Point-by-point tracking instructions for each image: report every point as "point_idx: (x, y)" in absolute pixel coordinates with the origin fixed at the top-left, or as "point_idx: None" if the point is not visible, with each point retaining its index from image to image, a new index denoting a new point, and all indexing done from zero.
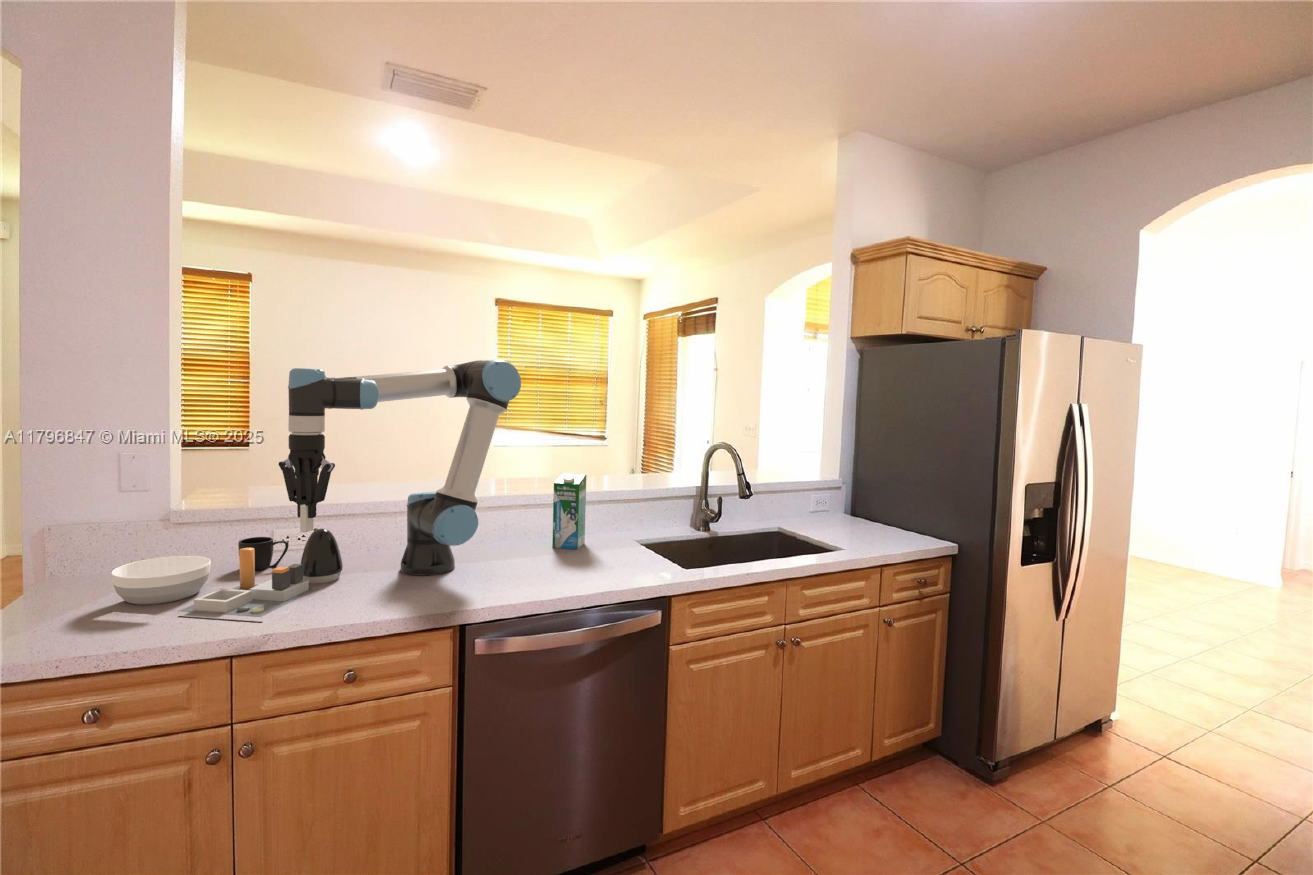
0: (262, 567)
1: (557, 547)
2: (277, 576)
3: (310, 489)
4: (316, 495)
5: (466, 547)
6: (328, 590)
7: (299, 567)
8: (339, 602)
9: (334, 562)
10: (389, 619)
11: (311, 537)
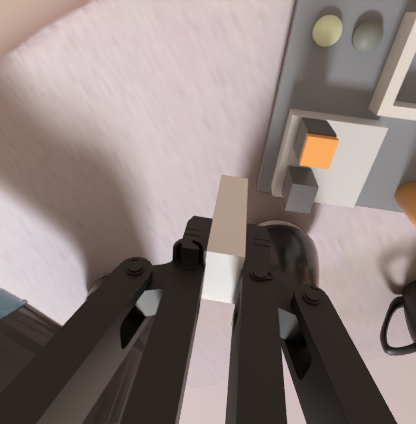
0: (414, 293)
1: None
2: (318, 129)
3: (153, 339)
4: (119, 293)
5: None
6: None
7: (287, 196)
8: (189, 141)
9: None
10: (30, 41)
11: None
